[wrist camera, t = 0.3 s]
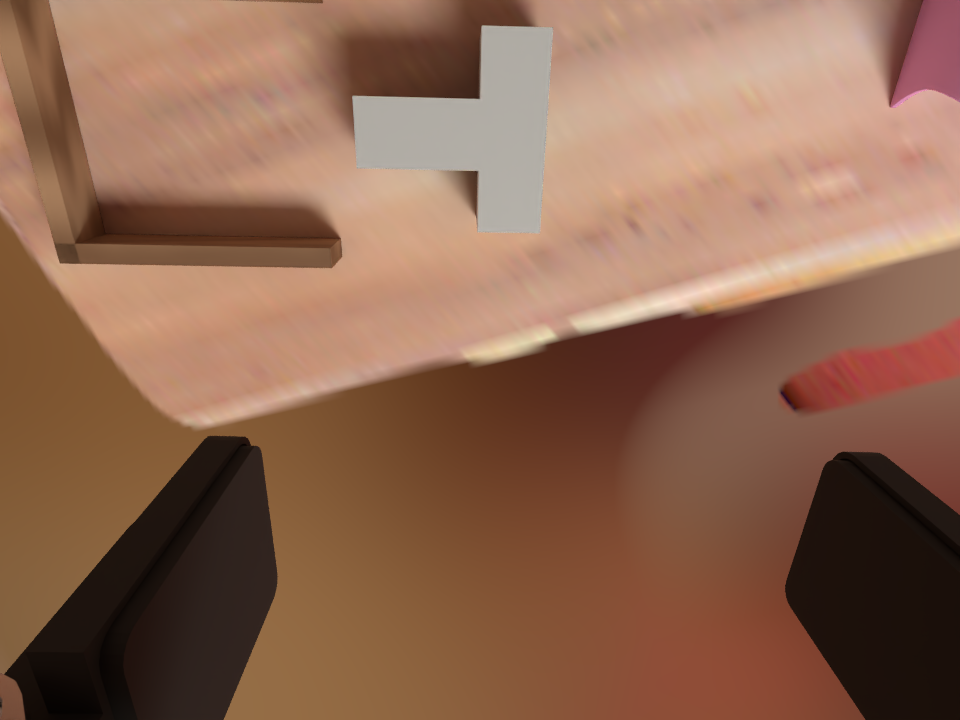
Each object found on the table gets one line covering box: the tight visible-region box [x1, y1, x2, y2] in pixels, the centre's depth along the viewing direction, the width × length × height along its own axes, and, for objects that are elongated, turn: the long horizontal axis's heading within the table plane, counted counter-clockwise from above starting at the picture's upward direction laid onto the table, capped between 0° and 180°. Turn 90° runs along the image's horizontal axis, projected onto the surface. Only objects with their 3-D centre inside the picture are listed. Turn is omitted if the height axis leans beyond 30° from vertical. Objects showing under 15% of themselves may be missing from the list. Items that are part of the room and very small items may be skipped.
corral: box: [0, 0, 342, 268], centre depth 32 cm, size 15×16×3 cm
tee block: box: [352, 25, 553, 233], centre depth 31 cm, size 10×10×5 cm
